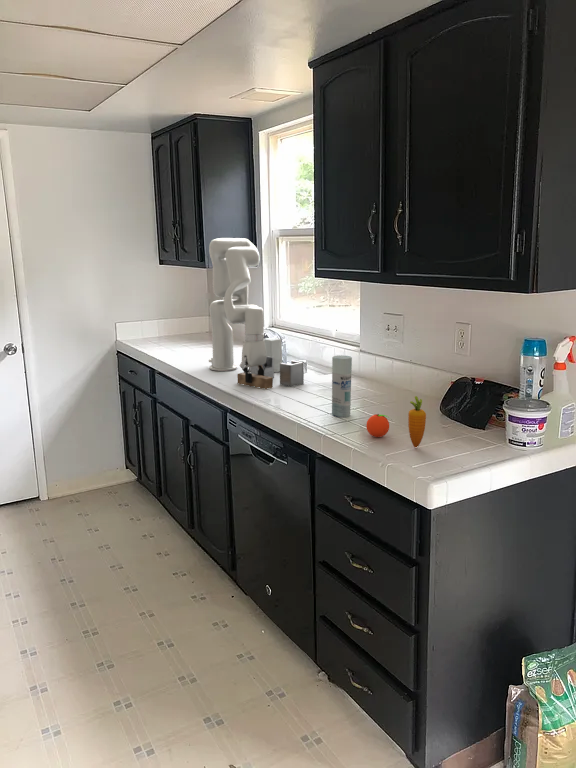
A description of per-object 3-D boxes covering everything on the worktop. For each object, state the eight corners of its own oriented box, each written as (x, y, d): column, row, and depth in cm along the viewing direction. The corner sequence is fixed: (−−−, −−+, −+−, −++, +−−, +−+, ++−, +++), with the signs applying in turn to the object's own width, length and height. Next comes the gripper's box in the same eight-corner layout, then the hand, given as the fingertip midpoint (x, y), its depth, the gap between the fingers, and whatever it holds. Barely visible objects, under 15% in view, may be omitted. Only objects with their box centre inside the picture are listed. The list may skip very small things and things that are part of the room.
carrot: (422, 451, 182) (425, 399, 179) (405, 449, 184) (407, 398, 181) (425, 446, 187) (428, 396, 183) (408, 444, 188) (410, 394, 185)
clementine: (390, 433, 199) (391, 411, 198) (394, 440, 193) (395, 417, 191) (364, 433, 199) (365, 411, 198) (367, 440, 192) (368, 417, 191)
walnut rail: (237, 384, 268) (237, 373, 267) (244, 382, 271) (244, 372, 270) (266, 390, 258) (265, 379, 257) (272, 388, 261) (272, 377, 260)
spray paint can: (340, 411, 225) (341, 354, 221) (354, 414, 220) (355, 357, 216) (327, 414, 221) (328, 357, 216) (341, 418, 216) (342, 359, 212)
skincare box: (283, 371, 293) (282, 339, 290) (271, 373, 290) (271, 340, 286) (273, 368, 300) (272, 336, 296) (262, 370, 296) (261, 337, 293)
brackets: (251, 378, 277) (250, 358, 275) (264, 376, 283) (263, 355, 281) (290, 386, 262) (290, 365, 260) (303, 383, 268) (303, 362, 266)
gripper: (262, 334, 269) (263, 376, 273) (232, 339, 257) (233, 383, 261) (275, 336, 264) (276, 379, 268) (245, 341, 252) (245, 386, 256)
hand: (254, 380), depth 264 cm, fingers open, 6 cm apart
